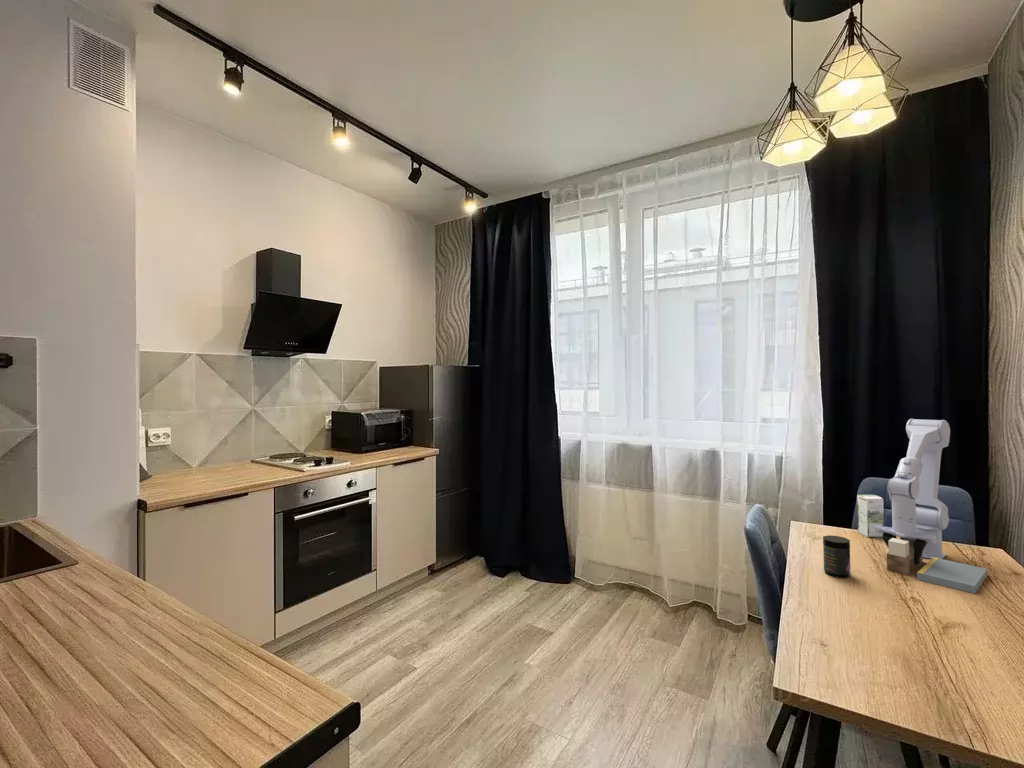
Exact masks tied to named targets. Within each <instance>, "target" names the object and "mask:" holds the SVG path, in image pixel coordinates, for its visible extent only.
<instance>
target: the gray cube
mask: <svg viewBox="0 0 1024 768" xmlns="http://www.w3.org/2000/svg"><path fill="white" fill-rule="evenodd" d="M899 539H901V540H906V541H909V547H913V548H914V546H913V542H914V541H916V540H914V539H909V538H903V537H899Z"/></svg>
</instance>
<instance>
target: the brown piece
mask: <svg viewBox="0 0 1024 768" xmlns="http://www.w3.org/2000/svg"><path fill="white" fill-rule="evenodd" d="M923 558H924V557H923V552H922V554H921V557H920V561H919V564H918V565H921V564H922V563H923V561H924V559H923ZM918 565H916V564H915V563H914V548H913V547H909V555H908V556H907V557H906V558H905V557H900V556H896V555H891V554H889V551H888V552H887V553H886V570H887V571H889V572H894V573H898V574H902V575H906V576H909V575H910V574H911V573H912V570H915V569H916V568H918Z"/></svg>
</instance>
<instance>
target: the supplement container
mask: <svg viewBox="0 0 1024 768" xmlns="http://www.w3.org/2000/svg"><path fill="white" fill-rule="evenodd" d="M822 548H823V550H822V552H823V553H822V555H823V571H824V573H825V574H827V575H829V576H831V577H834V578H840V579H841V578H849V577H850V576H851V572H852V570H851V540H850V539H848V538H847V537H843V536H838V535H823V536H822Z"/></svg>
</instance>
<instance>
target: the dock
mask: <svg viewBox="0 0 1024 768" xmlns="http://www.w3.org/2000/svg"><path fill="white" fill-rule="evenodd" d="M987 577H988V568H986V567H981V566H977V565H976V566H975V565H970V564H967V563H961V562H957V561H952V560H947V559H944V558H943V559H939V558H936V557H933V558H932V559H930V560H929V561H928V562H926V563H925V565H923V566H922V567H921V568H920V569H919V570H918V571H916V580H918V581H922V582H926V583H930V584H933V585H938V586H942V587H946V588H951V589H954V590H958V591H962V592H966V593H972V594H976V593H977V591H978V590H979V588H980V587H981V586H982V584H983V583H984V582H985V580H986V579H987Z"/></svg>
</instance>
